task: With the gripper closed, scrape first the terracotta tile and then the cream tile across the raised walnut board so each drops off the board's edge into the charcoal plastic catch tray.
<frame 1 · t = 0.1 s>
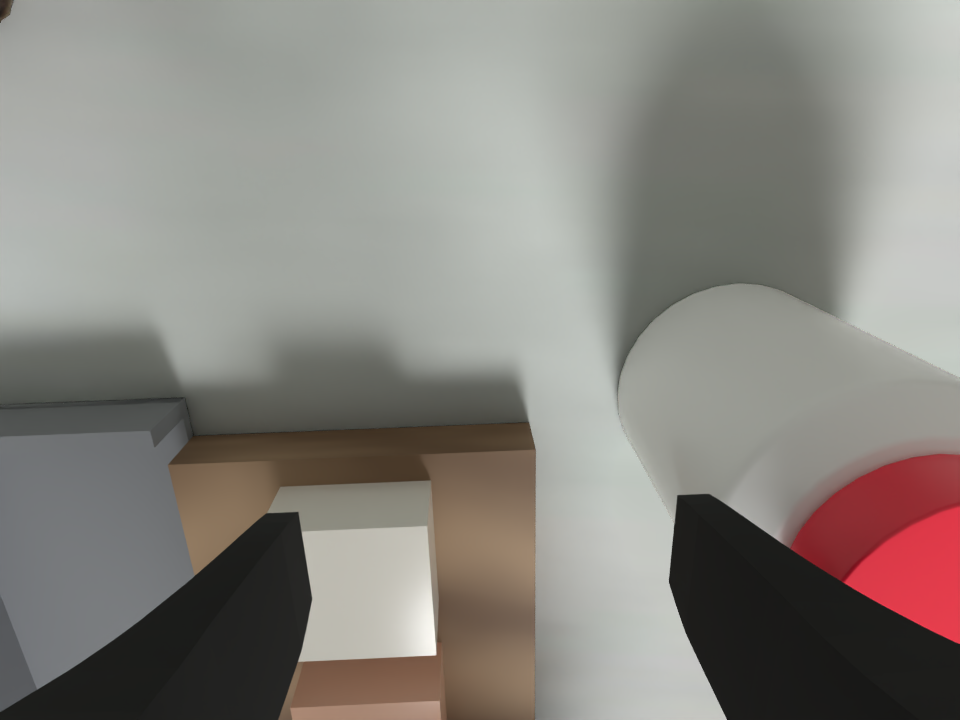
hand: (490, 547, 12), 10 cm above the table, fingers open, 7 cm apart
tile terracotta: (380, 694, 23), point 2 cm above the table, touching board
tile cream: (363, 545, 21), point 2 cm above the table, touching board
board: (379, 586, 24), on the table
pill bottle: (722, 386, 22), on the table
catch tray: (113, 598, 24), on the table
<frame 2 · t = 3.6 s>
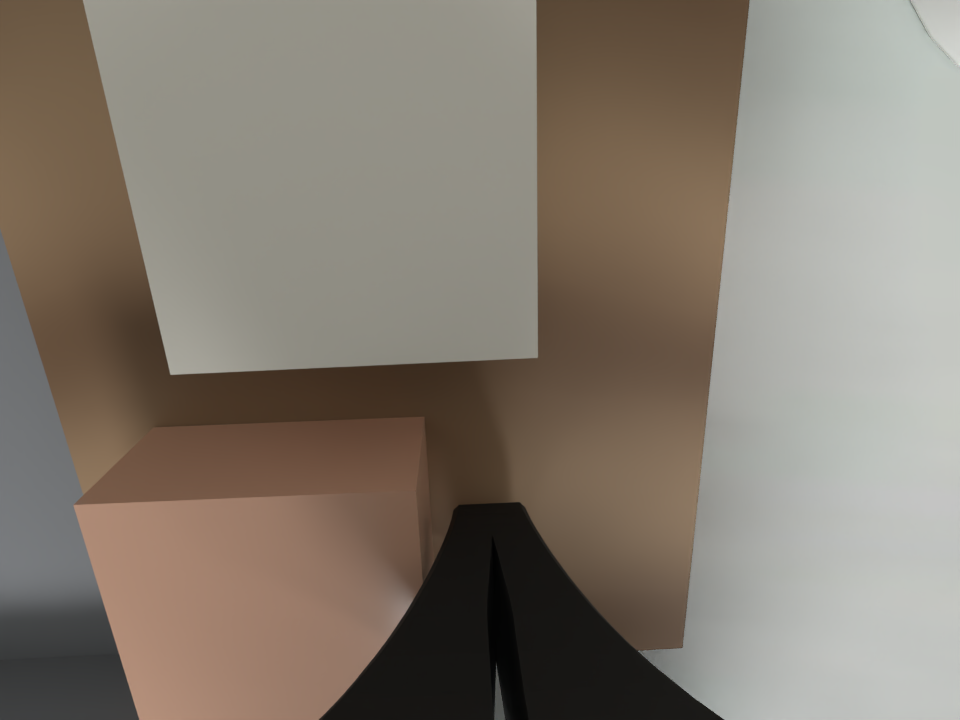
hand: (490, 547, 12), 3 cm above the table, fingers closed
tile terracotta: (306, 534, 12), point 2 cm above the table, touching board, gripper
tile cream: (363, 165, 10), point 2 cm above the table, touching board
board: (394, 334, 13), on the table
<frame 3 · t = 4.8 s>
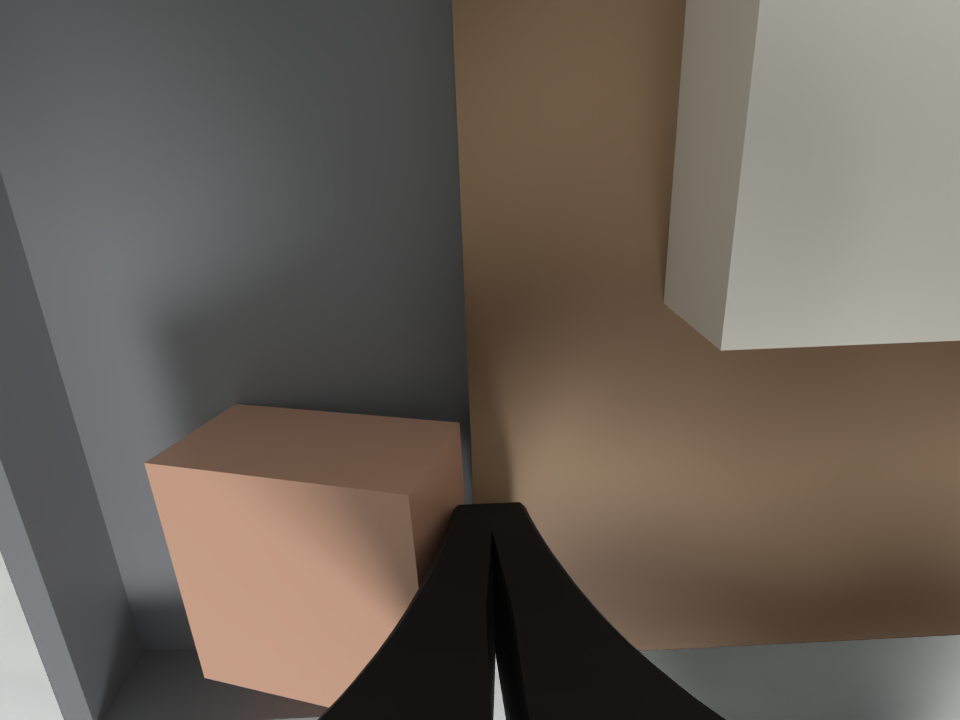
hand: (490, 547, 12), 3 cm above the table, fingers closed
tile terracotta: (356, 518, 13), point 1 cm above the table, tilted 18°, touching gripper
tile cream: (827, 148, 10), point 2 cm above the table, touching board
board: (746, 319, 13), on the table
catch tray: (253, 339, 13), on the table
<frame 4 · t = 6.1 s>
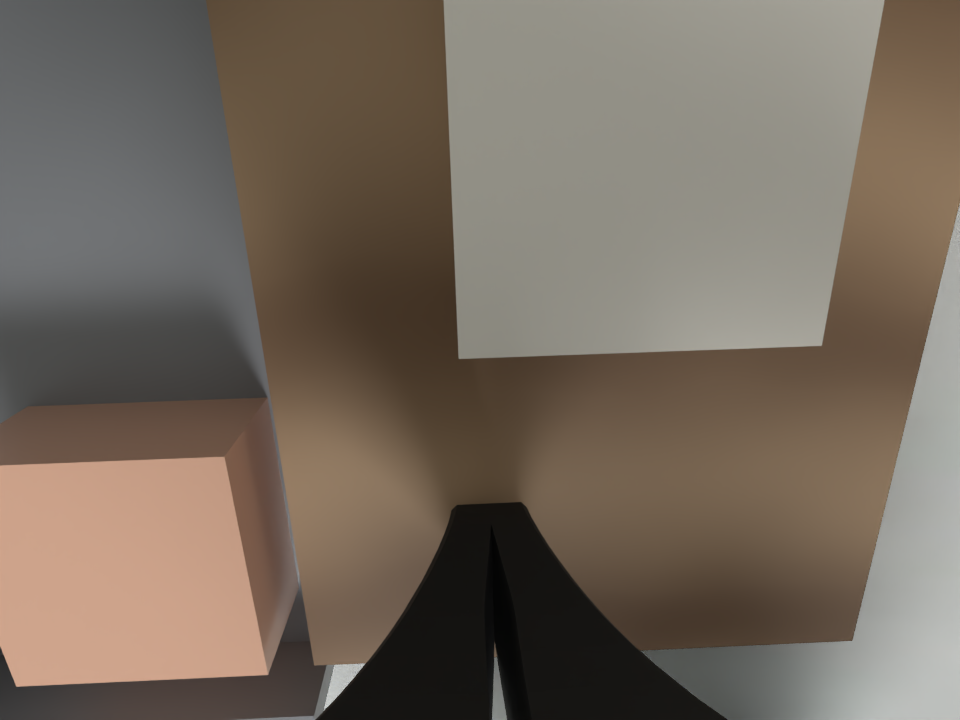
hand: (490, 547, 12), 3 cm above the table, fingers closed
tile terracotta: (172, 503, 14), resting on catch tray
tile cream: (608, 153, 10), point 2 cm above the table, touching board
board: (578, 324, 13), on the table
catch tray: (78, 342, 13), on the table
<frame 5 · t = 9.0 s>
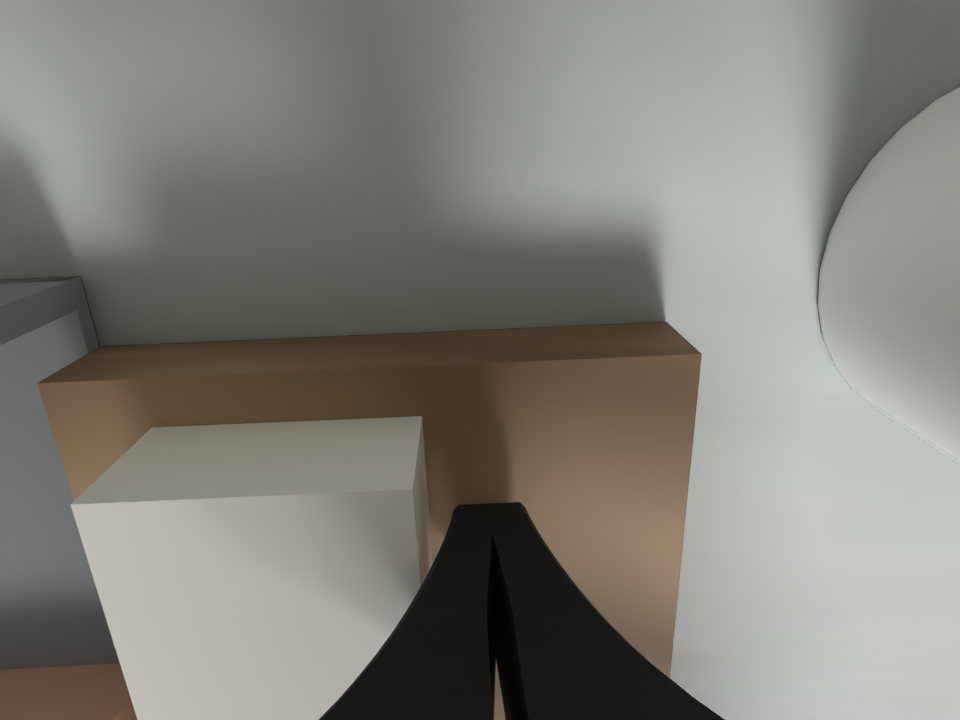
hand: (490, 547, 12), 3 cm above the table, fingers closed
tile cream: (305, 534, 12), point 2 cm above the table
board: (410, 597, 15), on the table
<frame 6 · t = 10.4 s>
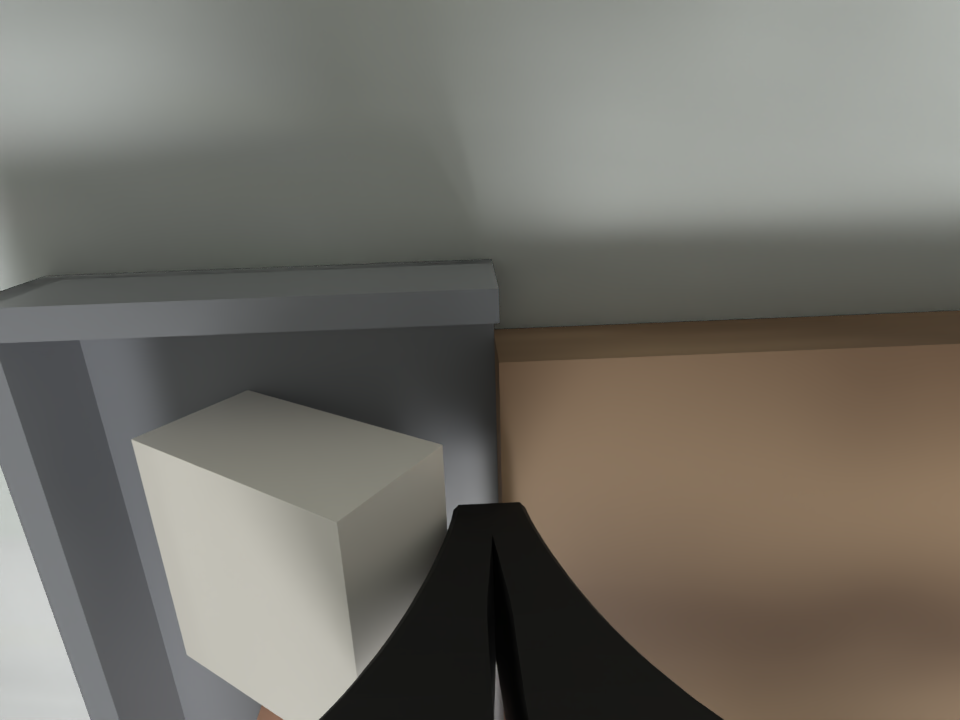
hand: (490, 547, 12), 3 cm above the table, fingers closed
tile cream: (348, 525, 12), point 2 cm above the table, tilted 34°, touching catch tray, gripper
board: (735, 582, 15), on the table
catch tray: (321, 601, 15), on the table
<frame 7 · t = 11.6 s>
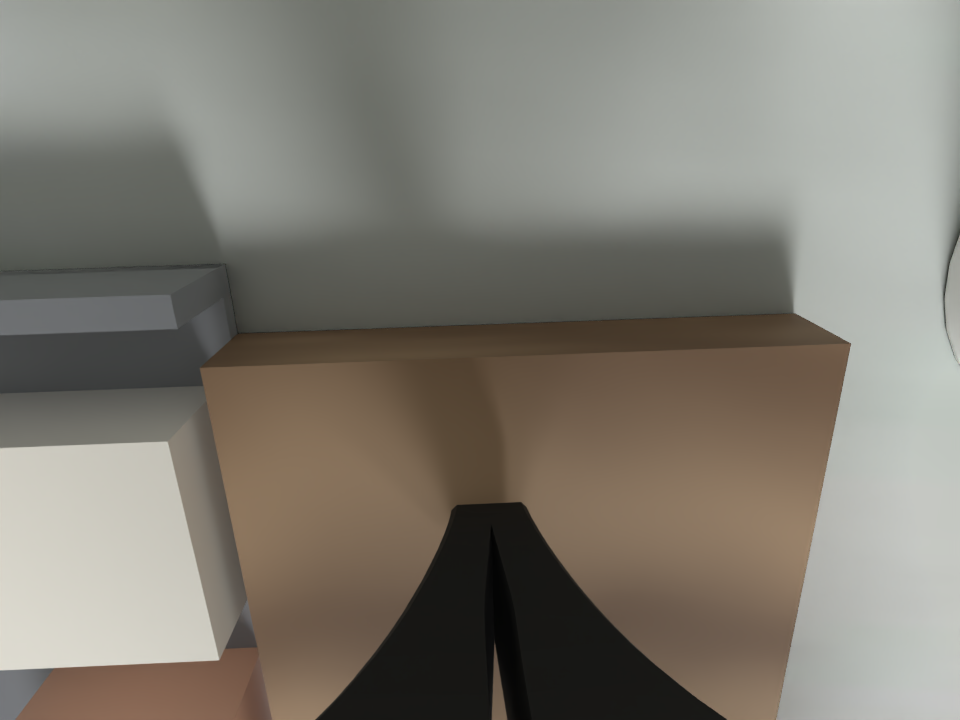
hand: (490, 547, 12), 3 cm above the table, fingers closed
tile cream: (129, 491, 14), resting on catch tray
board: (520, 585, 15), on the table
catch tray: (104, 604, 15), on the table
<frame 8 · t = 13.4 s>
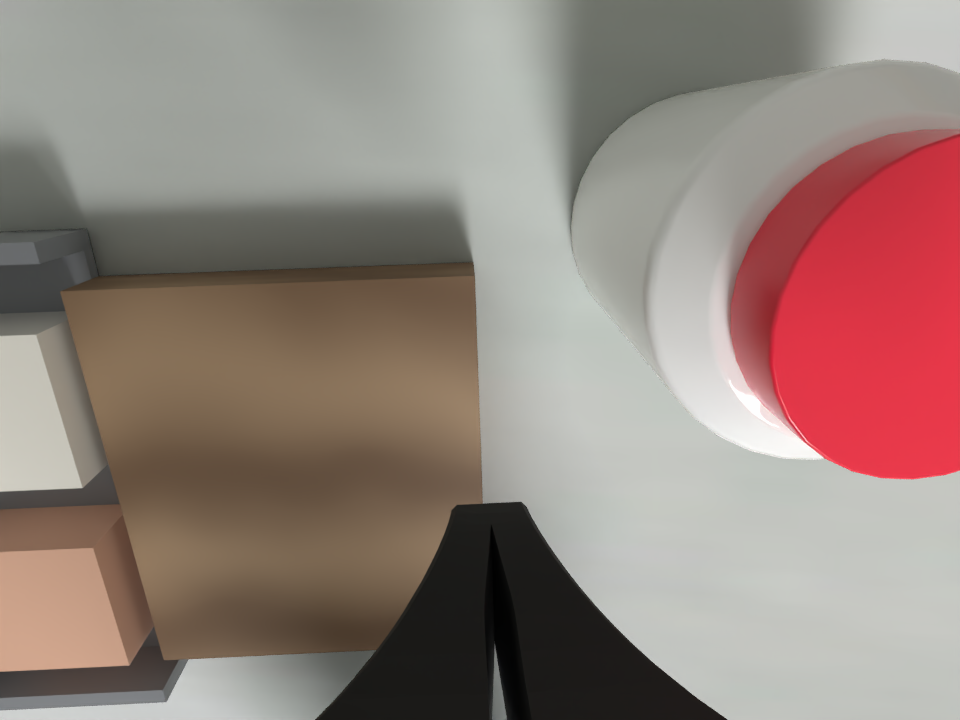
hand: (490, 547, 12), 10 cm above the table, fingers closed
tile terracotta: (80, 563, 23), resting on catch tray
tile cream: (31, 385, 20), resting on catch tray
board: (314, 460, 22), on the table
pill bottle: (688, 222, 20), on the table
catch tray: (21, 472, 22), on the table
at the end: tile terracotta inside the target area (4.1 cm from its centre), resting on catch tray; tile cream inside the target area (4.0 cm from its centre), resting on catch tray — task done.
